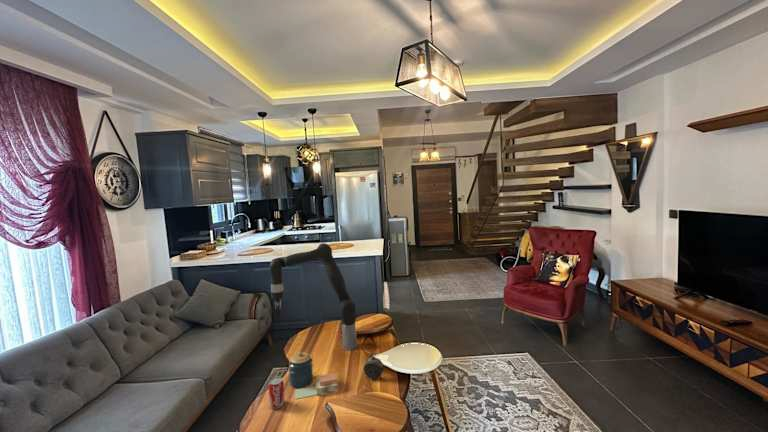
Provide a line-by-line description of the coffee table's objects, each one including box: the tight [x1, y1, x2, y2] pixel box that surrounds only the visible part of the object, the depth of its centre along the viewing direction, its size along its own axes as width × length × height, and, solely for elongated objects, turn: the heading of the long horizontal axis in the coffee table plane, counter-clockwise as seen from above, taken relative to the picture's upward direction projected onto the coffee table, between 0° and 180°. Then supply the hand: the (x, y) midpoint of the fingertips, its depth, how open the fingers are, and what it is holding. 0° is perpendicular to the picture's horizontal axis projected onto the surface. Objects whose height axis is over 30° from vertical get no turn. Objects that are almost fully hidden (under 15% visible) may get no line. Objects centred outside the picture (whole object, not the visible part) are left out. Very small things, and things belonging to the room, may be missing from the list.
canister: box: [288, 350, 314, 389], centre depth 180 cm, size 13×13×18 cm
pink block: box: [318, 372, 338, 386], centre depth 174 cm, size 9×6×2 cm, turn 107°
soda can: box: [268, 376, 285, 410], centre depth 161 cm, size 7×7×13 cm
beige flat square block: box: [314, 377, 339, 397], centre depth 174 cm, size 11×10×4 cm
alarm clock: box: [363, 351, 384, 382], centre depth 180 cm, size 11×5×16 cm, turn 77°
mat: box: [294, 385, 317, 400], centre depth 171 cm, size 11×8×1 cm
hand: (278, 315), depth 204 cm, fingers open, 8 cm apart
